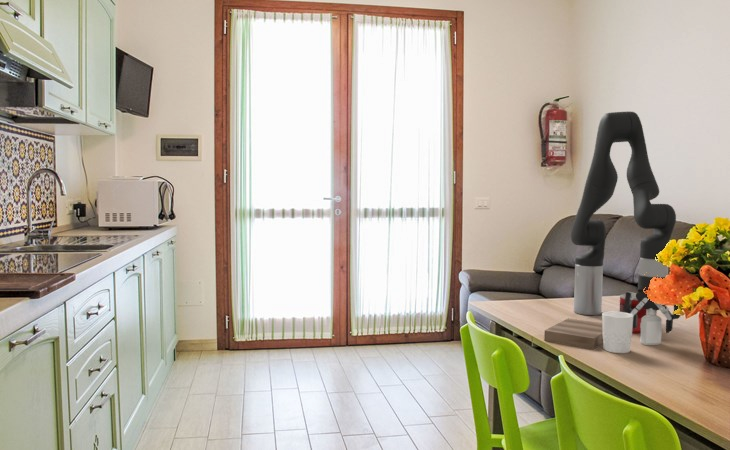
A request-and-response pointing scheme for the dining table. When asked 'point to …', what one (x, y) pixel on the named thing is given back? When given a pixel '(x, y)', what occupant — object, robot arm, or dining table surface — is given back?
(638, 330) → the canned food
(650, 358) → the dining table surface
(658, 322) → the eye dropper bottle
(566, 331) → the walnut base board
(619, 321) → the white cup
